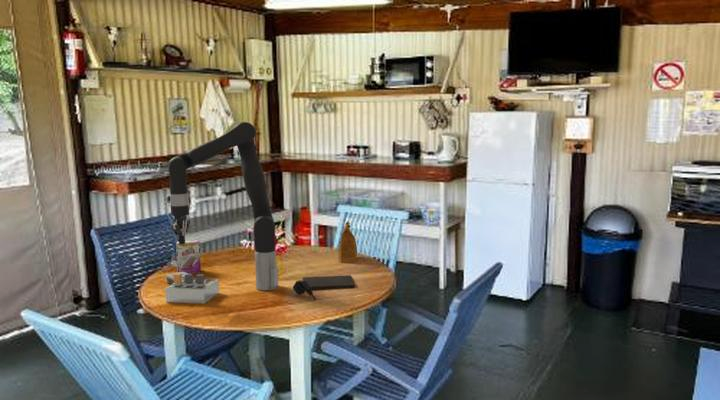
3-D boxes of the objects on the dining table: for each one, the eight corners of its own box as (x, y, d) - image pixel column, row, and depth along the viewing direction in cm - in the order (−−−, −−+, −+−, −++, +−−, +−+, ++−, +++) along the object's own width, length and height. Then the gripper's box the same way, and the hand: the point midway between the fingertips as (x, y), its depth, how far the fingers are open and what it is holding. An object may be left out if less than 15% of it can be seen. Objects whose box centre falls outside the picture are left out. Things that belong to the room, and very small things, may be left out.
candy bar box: (177, 276, 268) (176, 243, 265) (177, 273, 272) (175, 241, 270) (201, 273, 272) (199, 241, 269) (200, 271, 276) (198, 239, 274)
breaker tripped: (183, 283, 233) (183, 273, 232) (179, 285, 229) (178, 275, 228) (176, 282, 233) (176, 272, 233) (172, 285, 229) (171, 275, 229)
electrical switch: (174, 279, 249) (164, 271, 255) (173, 289, 250) (164, 281, 256) (192, 275, 255) (183, 268, 261) (192, 285, 257) (182, 277, 263)
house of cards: (159, 267, 287) (158, 252, 286) (176, 265, 291) (175, 251, 290) (162, 271, 279) (161, 256, 278) (179, 268, 283) (178, 254, 282)
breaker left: (206, 283, 231) (205, 273, 231) (201, 286, 228) (201, 276, 227) (198, 283, 232) (198, 273, 231) (194, 286, 228) (194, 276, 227)
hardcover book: (302, 282, 258) (302, 277, 257) (350, 279, 260) (350, 275, 260) (303, 292, 242) (303, 287, 242) (354, 289, 245) (354, 284, 244)
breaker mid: (194, 283, 232) (194, 273, 232) (190, 286, 228) (190, 275, 228) (187, 283, 233) (187, 273, 232) (183, 285, 229) (183, 275, 228)
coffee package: (357, 260, 295) (356, 220, 292) (357, 266, 283) (356, 224, 280) (338, 260, 295) (338, 220, 292) (338, 266, 283) (337, 225, 280)
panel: (219, 292, 240) (218, 279, 240) (204, 303, 226) (203, 289, 225) (182, 291, 243) (182, 278, 242) (166, 302, 228) (165, 287, 227)
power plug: (311, 299, 226) (295, 278, 231) (303, 311, 230) (288, 290, 235) (320, 296, 231) (304, 275, 236) (313, 307, 235) (297, 287, 239)
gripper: (180, 206, 225) (183, 247, 227) (194, 202, 238) (197, 240, 240) (163, 206, 226) (166, 247, 228) (178, 201, 239) (181, 240, 241)
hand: (182, 243), depth 234 cm, fingers closed
